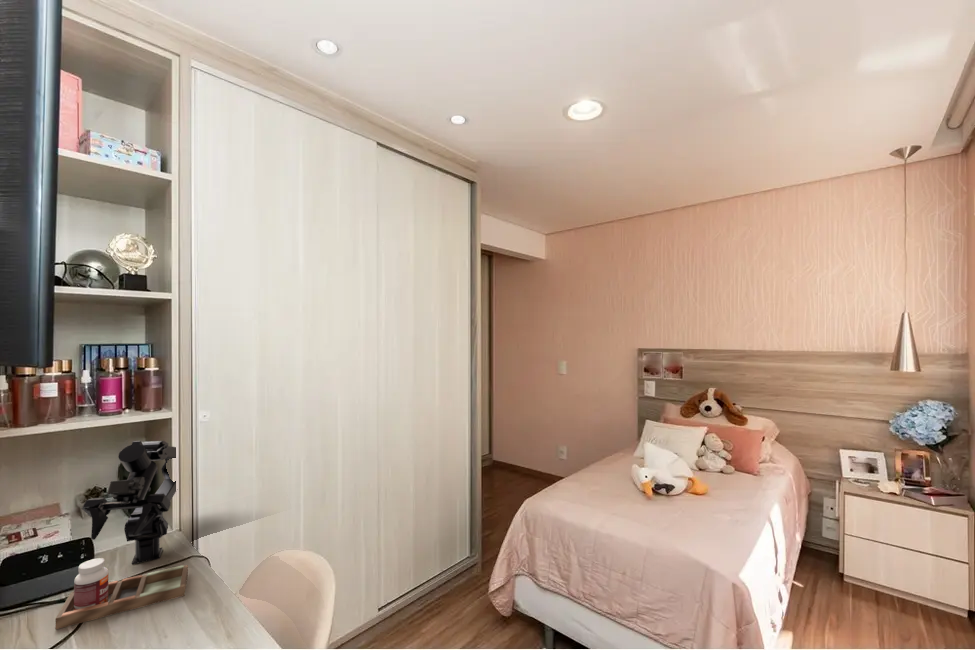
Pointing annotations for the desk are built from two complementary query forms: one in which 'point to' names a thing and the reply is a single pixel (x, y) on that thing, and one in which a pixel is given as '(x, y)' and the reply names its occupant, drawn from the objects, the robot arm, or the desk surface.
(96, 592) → the pill bottle
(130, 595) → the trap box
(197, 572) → the desk surface
